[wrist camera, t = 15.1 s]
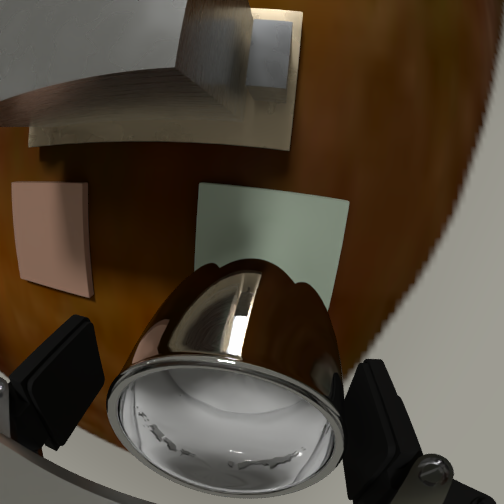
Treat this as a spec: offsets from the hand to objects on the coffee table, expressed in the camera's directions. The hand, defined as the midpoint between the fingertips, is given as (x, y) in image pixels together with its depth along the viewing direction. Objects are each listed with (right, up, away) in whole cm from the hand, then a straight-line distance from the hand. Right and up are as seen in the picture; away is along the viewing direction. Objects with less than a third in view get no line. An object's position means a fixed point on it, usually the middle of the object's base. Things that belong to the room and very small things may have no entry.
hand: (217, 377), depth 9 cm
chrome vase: (+2, +4, +12) cm, 12 cm away
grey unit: (-7, +17, +9) cm, 20 cm away
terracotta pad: (-18, +6, +14) cm, 23 cm away
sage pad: (+2, +4, +12) cm, 13 cm away
